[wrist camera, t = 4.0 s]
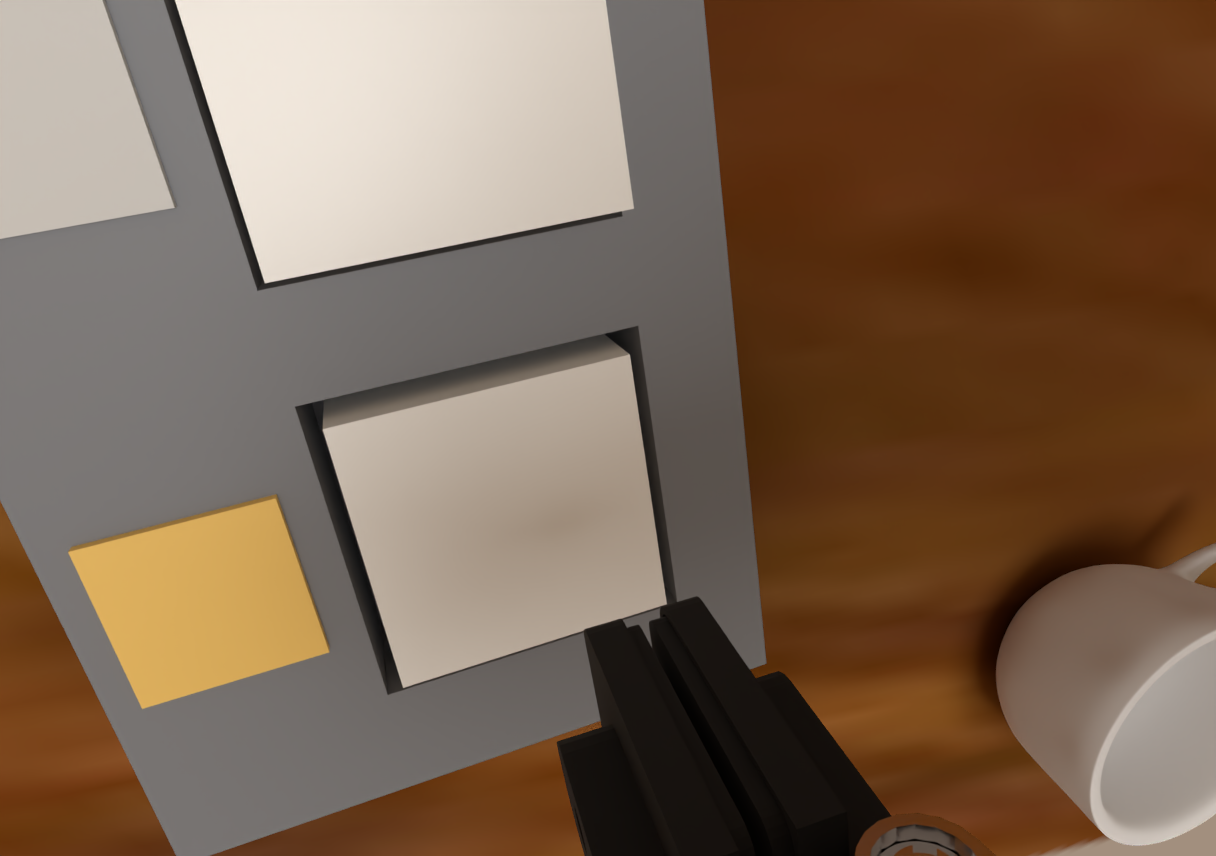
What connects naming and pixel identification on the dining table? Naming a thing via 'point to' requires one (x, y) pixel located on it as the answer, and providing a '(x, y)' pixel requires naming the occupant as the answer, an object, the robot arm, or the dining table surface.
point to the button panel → (315, 418)
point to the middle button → (408, 121)
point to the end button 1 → (499, 503)
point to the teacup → (1120, 693)
